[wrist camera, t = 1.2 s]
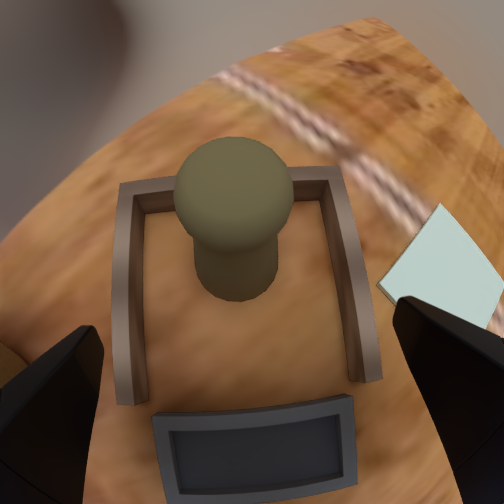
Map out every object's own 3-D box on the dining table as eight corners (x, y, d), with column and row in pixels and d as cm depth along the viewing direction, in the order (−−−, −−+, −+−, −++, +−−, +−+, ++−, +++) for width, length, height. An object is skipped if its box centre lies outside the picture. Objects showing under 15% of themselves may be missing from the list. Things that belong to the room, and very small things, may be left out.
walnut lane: (364, 376, 19) (382, 378, 16) (133, 399, 18) (116, 404, 15) (329, 186, 24) (339, 166, 21) (132, 202, 23) (120, 183, 20)
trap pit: (350, 476, 16) (357, 484, 14) (172, 495, 15) (167, 504, 14) (344, 393, 18) (352, 396, 17) (157, 412, 17) (151, 416, 16)
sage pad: (501, 285, 21) (505, 284, 21) (454, 375, 19) (459, 375, 18) (437, 206, 24) (440, 203, 23) (376, 285, 21) (379, 283, 21)
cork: (271, 218, 23) (293, 113, 12) (284, 296, 21) (326, 234, 10) (192, 226, 22) (159, 125, 12) (198, 306, 20) (153, 252, 10)
